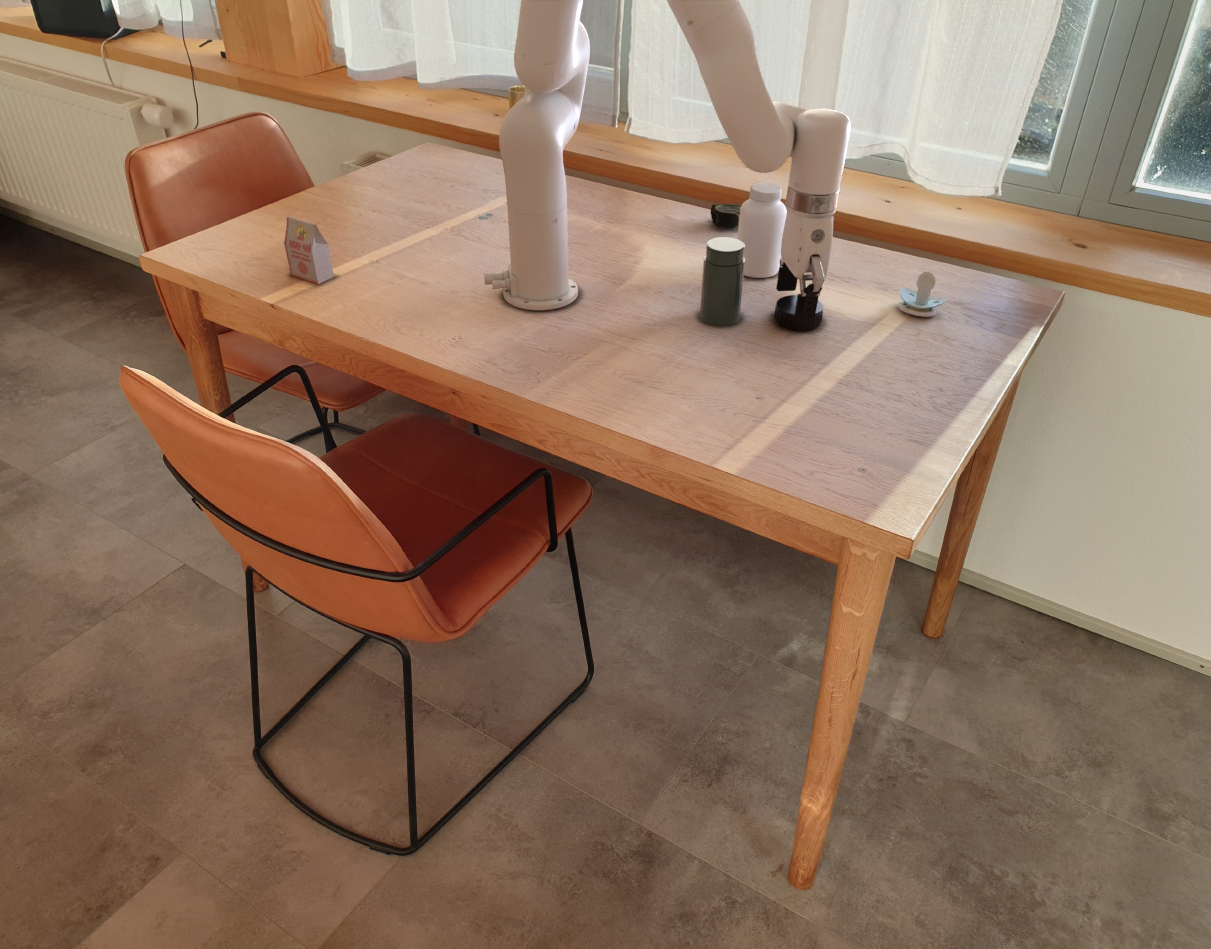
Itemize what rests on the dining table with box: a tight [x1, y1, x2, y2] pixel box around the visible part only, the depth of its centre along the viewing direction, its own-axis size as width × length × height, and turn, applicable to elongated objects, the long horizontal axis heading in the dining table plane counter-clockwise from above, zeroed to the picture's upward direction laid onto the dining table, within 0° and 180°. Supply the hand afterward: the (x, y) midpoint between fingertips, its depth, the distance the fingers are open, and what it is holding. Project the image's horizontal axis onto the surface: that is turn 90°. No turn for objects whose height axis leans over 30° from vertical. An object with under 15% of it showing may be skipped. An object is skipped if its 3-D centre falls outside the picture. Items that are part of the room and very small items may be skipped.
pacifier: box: [896, 271, 947, 318], centre depth 152 cm, size 7×6×6 cm
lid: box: [773, 294, 824, 332], centre depth 150 cm, size 8×8×3 cm
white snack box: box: [283, 216, 335, 285], centre depth 161 cm, size 4×7×10 cm, turn 58°
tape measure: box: [710, 203, 742, 230], centre depth 182 cm, size 7×7×4 cm
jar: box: [699, 236, 745, 327], centre depth 148 cm, size 6×6×12 cm
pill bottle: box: [736, 181, 788, 279], centre depth 162 cm, size 8×8×15 cm
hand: (794, 303), depth 149 cm, fingers open, 9 cm apart
